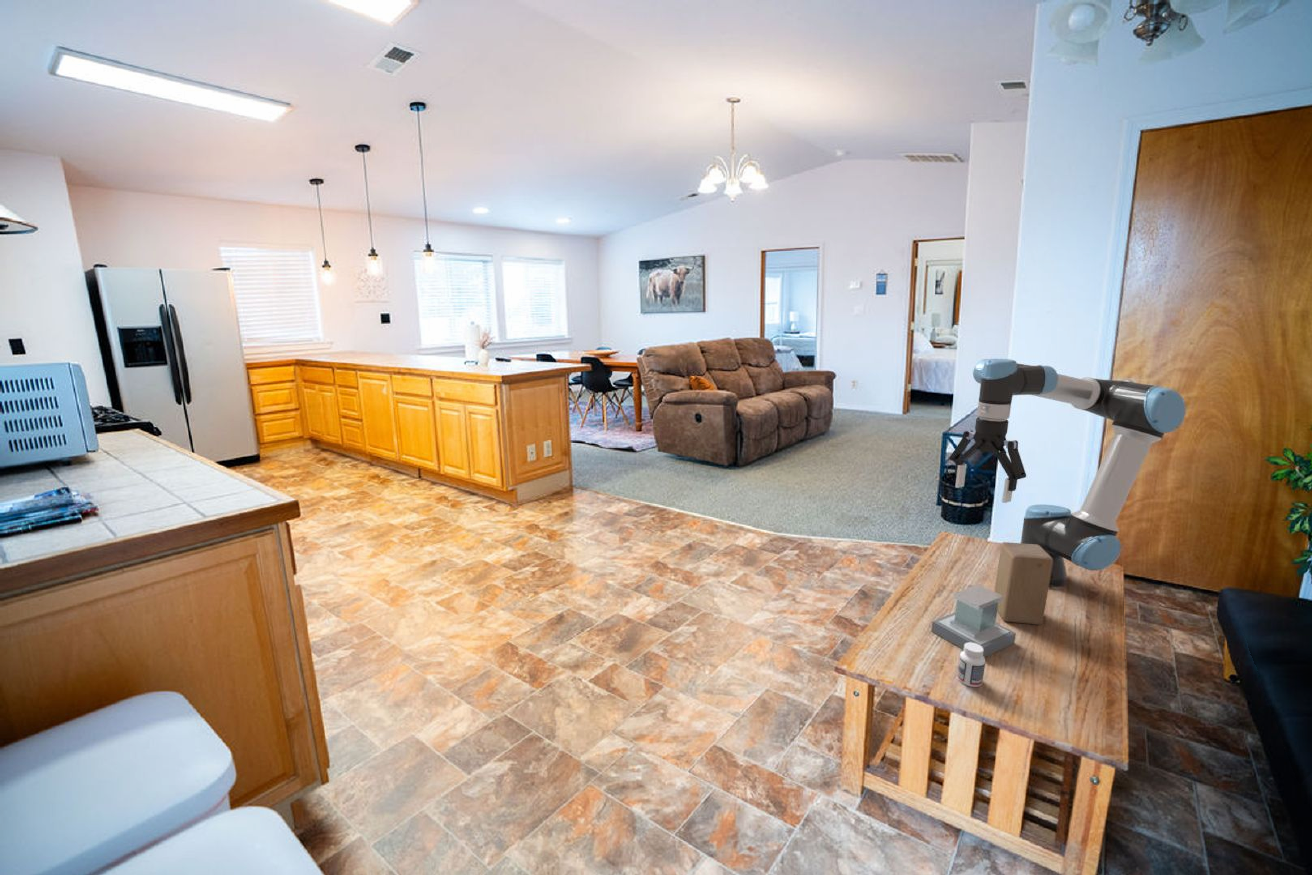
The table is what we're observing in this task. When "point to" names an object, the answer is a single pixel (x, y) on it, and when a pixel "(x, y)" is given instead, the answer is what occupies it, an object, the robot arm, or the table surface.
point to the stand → (988, 641)
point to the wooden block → (1023, 582)
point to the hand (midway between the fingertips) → (982, 494)
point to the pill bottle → (971, 665)
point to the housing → (976, 610)
